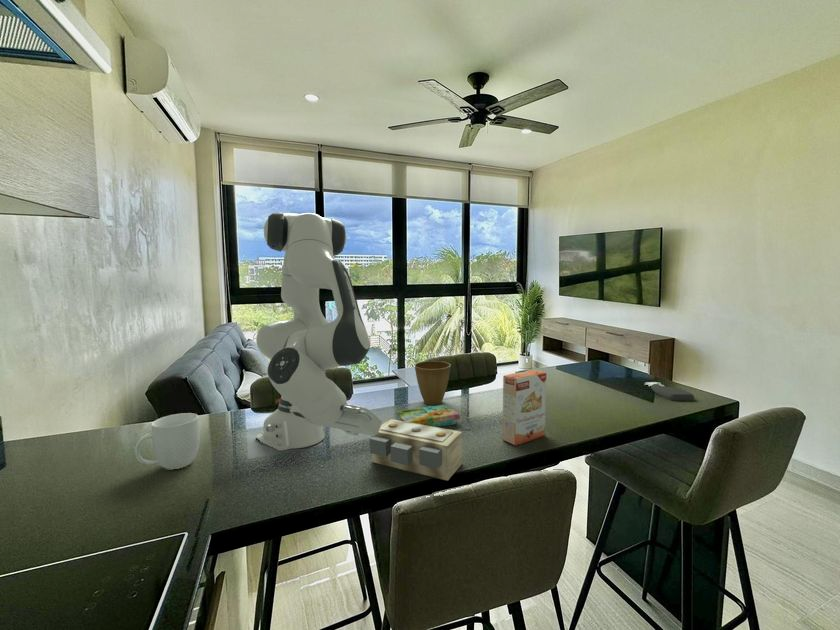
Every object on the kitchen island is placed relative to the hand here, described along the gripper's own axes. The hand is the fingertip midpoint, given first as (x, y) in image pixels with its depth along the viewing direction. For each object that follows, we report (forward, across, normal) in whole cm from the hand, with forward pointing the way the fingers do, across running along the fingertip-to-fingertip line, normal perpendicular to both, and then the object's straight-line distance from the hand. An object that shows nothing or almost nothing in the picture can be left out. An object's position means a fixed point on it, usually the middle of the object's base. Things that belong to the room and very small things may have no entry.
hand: (354, 431), depth 91 cm
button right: (+15, -15, -1) cm, 21 cm away
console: (+22, -8, -3) cm, 24 cm away
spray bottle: (+97, -76, -76) cm, 145 cm away
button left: (+15, 0, -1) cm, 15 cm away
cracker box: (+43, -31, -23) cm, 58 cm away
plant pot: (+58, +11, -38) cm, 70 cm away
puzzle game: (+43, +3, -22) cm, 49 cm away
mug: (+1, +53, +19) cm, 56 cm away
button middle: (+14, -7, 0) cm, 16 cm away
